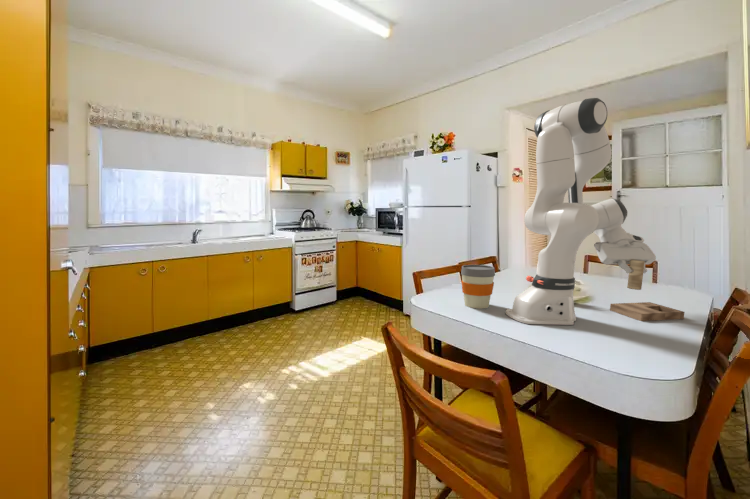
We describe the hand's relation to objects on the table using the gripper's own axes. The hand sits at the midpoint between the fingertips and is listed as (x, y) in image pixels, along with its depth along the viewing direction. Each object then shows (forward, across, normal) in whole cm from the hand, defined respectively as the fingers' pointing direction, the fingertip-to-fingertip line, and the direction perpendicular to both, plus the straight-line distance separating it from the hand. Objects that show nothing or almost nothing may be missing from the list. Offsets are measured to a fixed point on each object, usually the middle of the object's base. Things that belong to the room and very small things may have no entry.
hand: (637, 272), depth 119 cm
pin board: (+12, +3, +9) cm, 15 cm away
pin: (+4, 0, +5) cm, 6 cm away
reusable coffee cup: (-1, -51, +24) cm, 56 cm away
